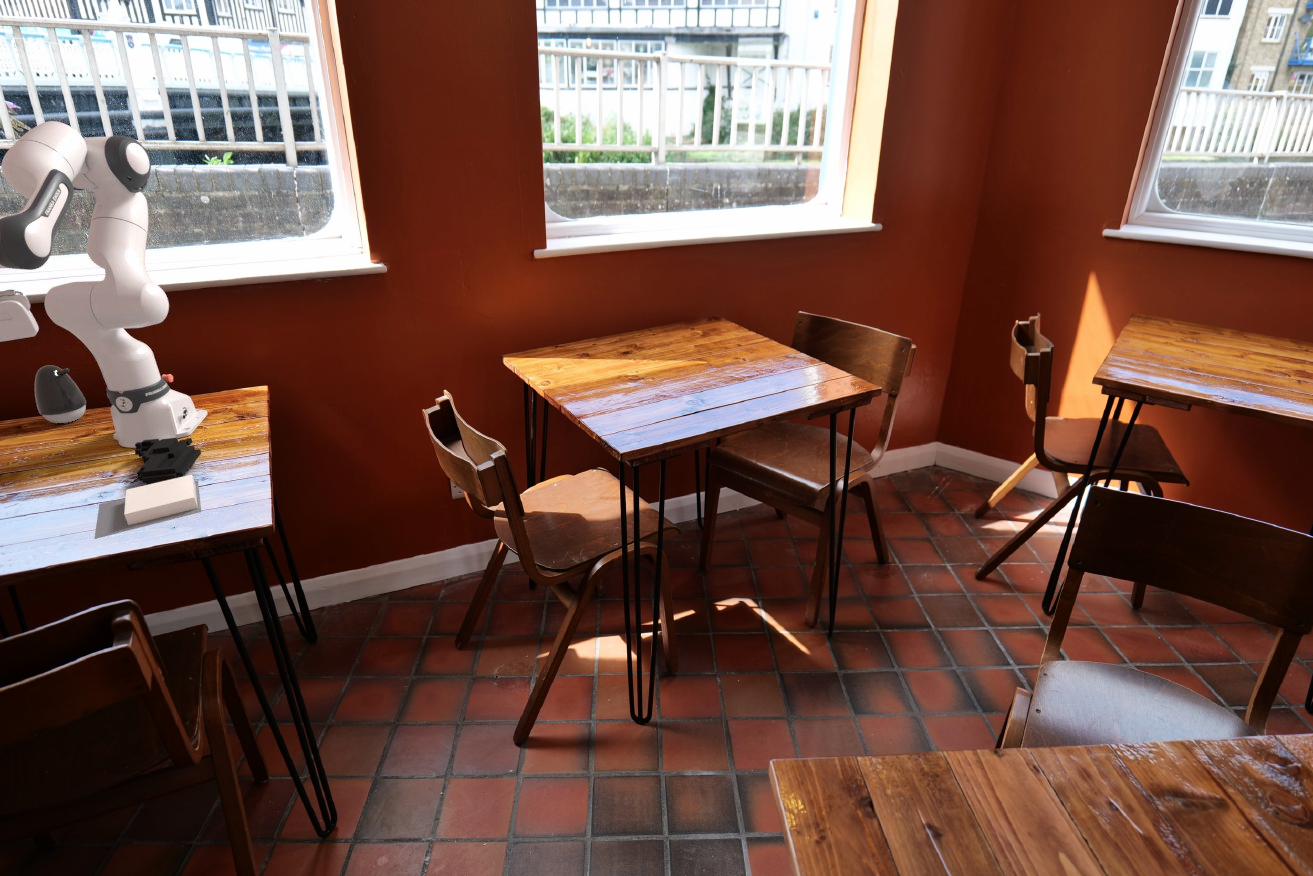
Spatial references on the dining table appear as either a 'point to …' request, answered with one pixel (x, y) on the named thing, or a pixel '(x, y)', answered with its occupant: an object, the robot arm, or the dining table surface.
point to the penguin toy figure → (58, 395)
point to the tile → (160, 499)
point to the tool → (165, 459)
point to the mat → (115, 521)
